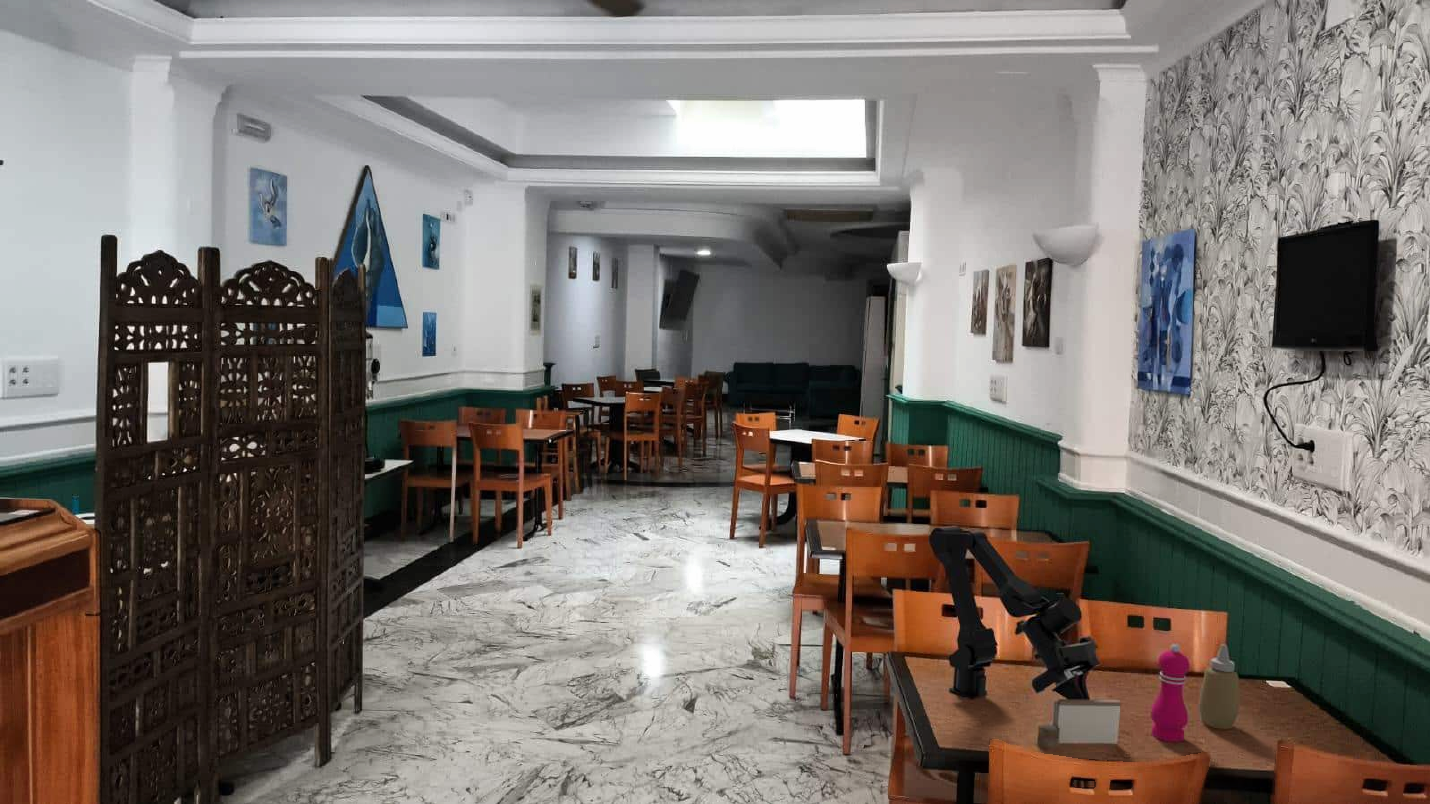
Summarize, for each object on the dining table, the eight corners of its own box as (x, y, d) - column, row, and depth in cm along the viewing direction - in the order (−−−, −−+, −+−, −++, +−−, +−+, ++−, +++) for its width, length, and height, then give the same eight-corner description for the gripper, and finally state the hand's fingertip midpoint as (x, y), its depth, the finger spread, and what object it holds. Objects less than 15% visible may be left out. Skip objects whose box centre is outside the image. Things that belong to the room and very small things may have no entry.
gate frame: (1037, 745, 202) (1038, 726, 201) (1083, 723, 215) (1084, 705, 214) (1050, 750, 200) (1052, 731, 199) (1096, 727, 213) (1097, 709, 212)
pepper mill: (1142, 729, 213) (1150, 638, 212) (1174, 729, 214) (1182, 639, 212) (1160, 743, 206) (1168, 649, 204) (1193, 743, 207) (1201, 650, 205)
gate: (1050, 740, 204) (1053, 699, 203) (1114, 741, 205) (1118, 700, 204) (1052, 743, 203) (1056, 701, 202) (1117, 743, 204) (1121, 702, 203)
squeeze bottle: (1236, 735, 212) (1243, 653, 211) (1194, 725, 216) (1201, 645, 215) (1239, 723, 219) (1246, 644, 218) (1198, 714, 223) (1205, 636, 222)
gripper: (1050, 632, 201) (1096, 703, 193) (1096, 618, 213) (1140, 684, 206) (1012, 658, 207) (1055, 727, 200) (1058, 642, 220) (1100, 707, 212)
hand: (1089, 711), depth 204 cm, fingers closed
